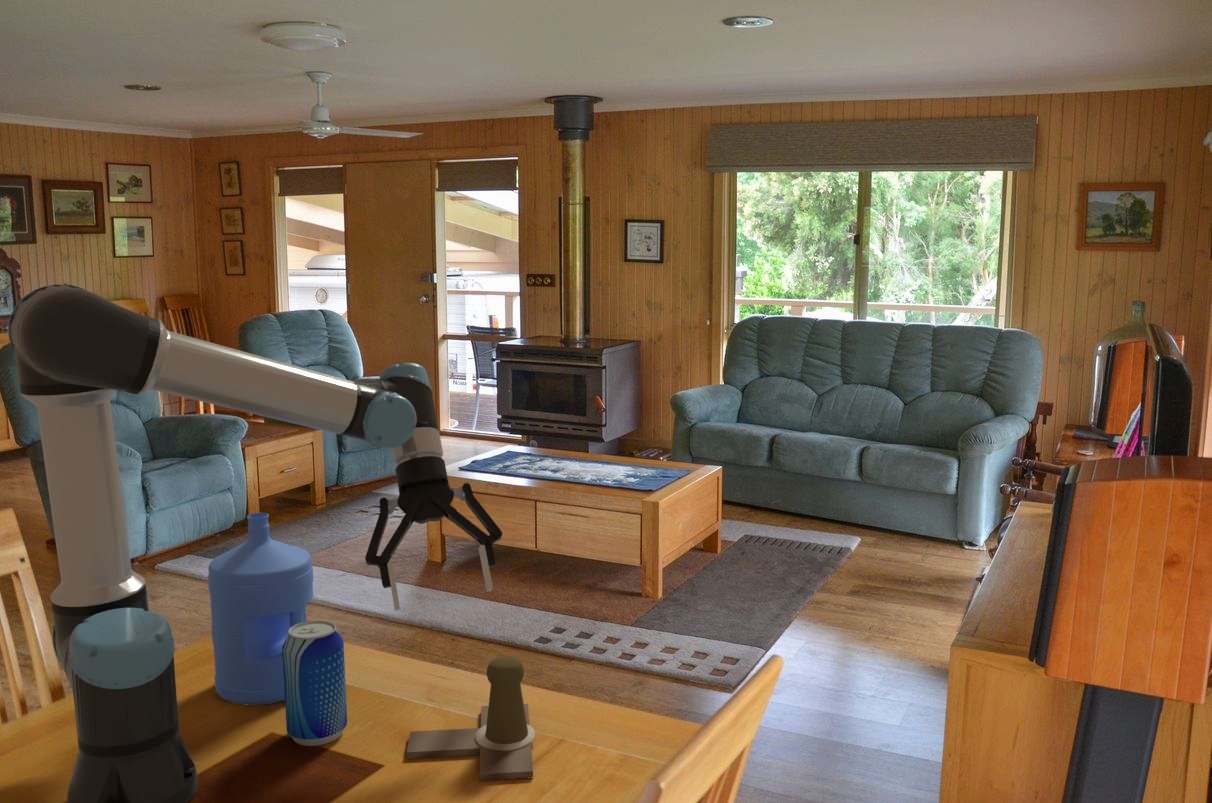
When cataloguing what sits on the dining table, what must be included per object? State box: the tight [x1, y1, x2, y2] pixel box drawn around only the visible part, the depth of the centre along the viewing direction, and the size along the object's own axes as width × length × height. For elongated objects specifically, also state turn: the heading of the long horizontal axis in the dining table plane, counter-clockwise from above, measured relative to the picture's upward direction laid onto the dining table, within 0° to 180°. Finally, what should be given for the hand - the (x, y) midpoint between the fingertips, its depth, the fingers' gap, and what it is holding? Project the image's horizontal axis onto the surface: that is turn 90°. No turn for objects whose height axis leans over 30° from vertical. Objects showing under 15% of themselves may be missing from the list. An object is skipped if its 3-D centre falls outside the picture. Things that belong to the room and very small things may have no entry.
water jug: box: [207, 512, 314, 706], centre depth 164 cm, size 16×16×28 cm
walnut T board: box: [406, 703, 536, 782], centre depth 147 cm, size 18×20×1 cm
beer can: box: [282, 619, 348, 747], centre depth 149 cm, size 8×8×16 cm
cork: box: [485, 656, 528, 744], centre depth 146 cm, size 6×6×11 cm
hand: (444, 599), depth 152 cm, fingers open, 13 cm apart
